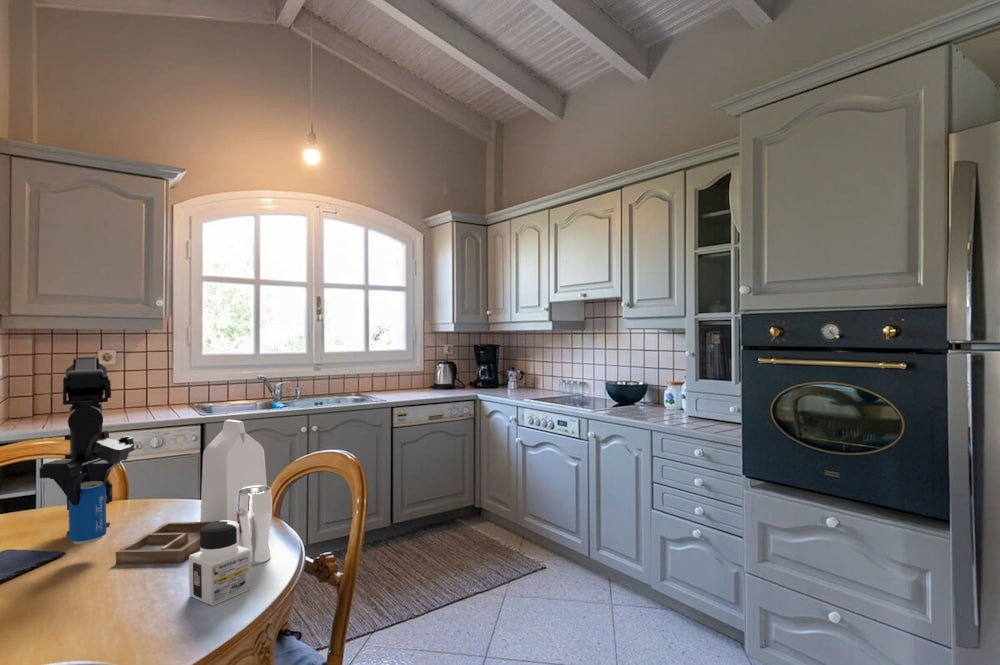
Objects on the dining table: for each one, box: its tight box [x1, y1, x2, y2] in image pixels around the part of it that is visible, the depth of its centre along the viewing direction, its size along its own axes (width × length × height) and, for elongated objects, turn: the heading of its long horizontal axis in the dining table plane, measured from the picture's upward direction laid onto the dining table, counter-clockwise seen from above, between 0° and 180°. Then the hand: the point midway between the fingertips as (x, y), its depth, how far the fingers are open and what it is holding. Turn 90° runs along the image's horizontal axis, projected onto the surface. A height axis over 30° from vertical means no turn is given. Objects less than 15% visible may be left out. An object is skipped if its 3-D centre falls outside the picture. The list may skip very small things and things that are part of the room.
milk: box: [199, 419, 268, 523], centre depth 142 cm, size 12×12×26 cm
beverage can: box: [68, 481, 107, 545], centre depth 119 cm, size 6×6×12 cm
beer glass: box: [237, 485, 273, 566], centre depth 118 cm, size 7×7×15 cm
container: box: [188, 520, 252, 607], centre depth 103 cm, size 8×8×13 cm
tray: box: [115, 521, 212, 565], centre depth 125 cm, size 18×14×3 cm
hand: (87, 500), depth 119 cm, fingers closed on beverage can, 6 cm apart
